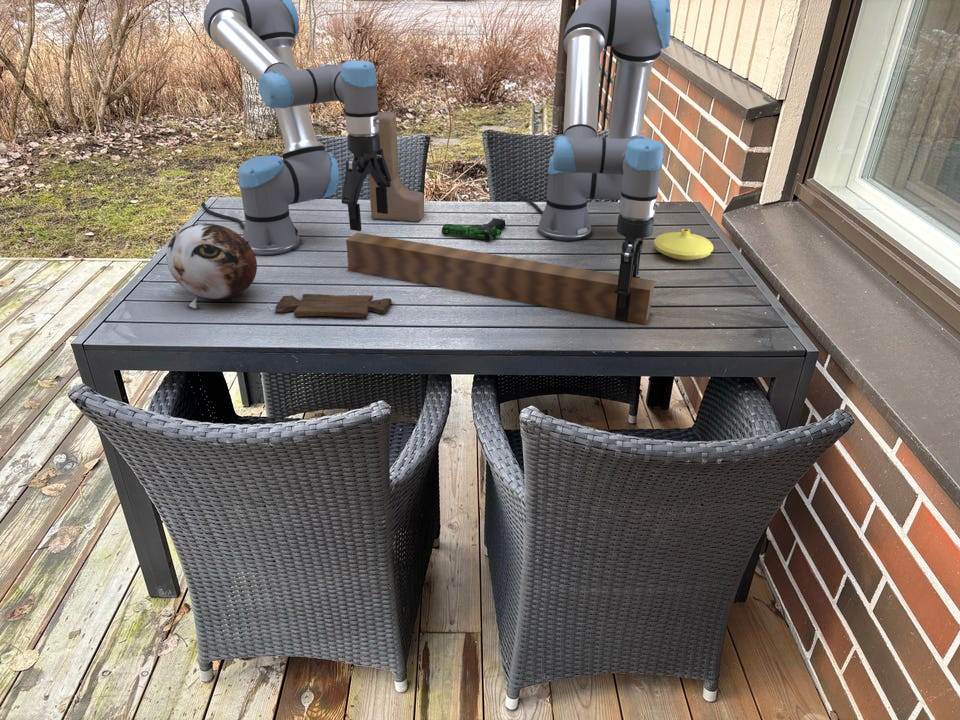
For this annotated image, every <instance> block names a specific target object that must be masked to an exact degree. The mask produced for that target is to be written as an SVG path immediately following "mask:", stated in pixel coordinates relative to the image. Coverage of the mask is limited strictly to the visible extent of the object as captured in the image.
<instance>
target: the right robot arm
mask: <svg viewBox="0 0 960 720" xmlns="http://www.w3.org/2000/svg"><path fill="white" fill-rule="evenodd" d="M671 21H672V20H671V3H670V0H584V1H583V2H582V3H580V5H579V6H578V7H577V8H576V9H575V10H574V12H573V13H572V15H571V17H570V18H569V20H568V22H567V24H566V27H565V30H564V35H563V49H564V51H565V53H566V54H567V57H566V77H565V93H564V94H565V95H564V113H563V131H562V133H563V134H562V135H560V136H559V135H558V136H555V138H554V143H553V154H552V155H551V156H550V158H549V162H548V169H547V174H548V177H547V189H546V200H545V201H546V203H545V206H544V209H543V210H542V209H541V207H539V206H538V205H537V204H536V202H534V201H532V200H530V199H529V198H527V197H526V196H524V195H523V194H522V193H521V191H519V190H515V191H514V193H513V194H514V195H518V196H519V197H520V198H521V200H523V201H525V202H526V203H528V204H530V205H531V206H532V207H533V208H534V209H536V211H537V212H538V213H539V214H541V217H540V220H539V224H538V231H537V232H538V233H539V234H540V235H541V236H542V237H545V238H547V239H550V240H554V241H559V242H575V241H576V242H577V241H581V240H585V239H587V238H589V237H590V236H591V234H592V233H591V232H592V224H591V220H590V215H589V211H588V200H592V199H593V200H611V201H619V204H618V213H619V215H618V216H617V224H616V232H617V233H618V234H619V235H620V236H623V237H624V241H623V242H622V244H621V252H620V262H619V263H620V264H619V270H618V275H619V277H618V285H617V290H615V291H614V293H616V294H618V295H617V303H616V311H615V319H614V320H618V319H620V321H624V320H625V322H628V321H627V317H628V309H629V302H630V294H631V293H630V287H631V282H632V277H636V278H641V277H640V276H638V275H639V273H640V272H639V271H640V263H641V255H642V248H643V246H644V239H645V238H648V237H650V236H652V234H653V231H654V230H653V229H654V222H655V218H654V216H655V214H656V208H659V207H660V203H659V202H658V201H657V199H658V193H659V186H660V180H661V174H662V167H663V164H664V151H665V147H664V144H663V143H662V142H661V141H659V140H657V139H652V138H647V137H645V136H643V135H642V132H643V127H644V126H643V125H644V119H645V112H646V107H647V101H648V95H649V88H650V82H651V76H652V69H653V65H654V64H653V63H654V62H656V61H657V60H658V59H659V58H660V57H661V53H662V50H665V49H668V48H669V46H670V41H671V28H672V27H671V26H672V22H671ZM605 47H608V48H610V47H612V51H611V53H612V56H613V57H614V58H615V59H616V60H617V61H616V62H617V63H616V70H615V80H614V86H613V95H612V102H611V111H610V119H609V127H608V134H607V137H598V123H599V122H598V121H599V98H600V97H599V95H600V69H601V68H600V67H601V66H600V65H601V54H602V52H603V51H604V49H605Z"/></svg>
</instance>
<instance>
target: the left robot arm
mask: <svg viewBox="0 0 960 720" xmlns="http://www.w3.org/2000/svg"><path fill="white" fill-rule="evenodd" d="M299 22H300V18H299V14H298V10H297V8H296V6H295V3H294V2H293V0H209V1H208V3H207V4H206V6H205V9H204V12H203V26H204V29H205V31H206V34H207V35H208V37H209V38H210V39H211V41H212V42H213V43H214V44H215V45H216V46H217V47H219V48H220V49H222V50H226V51H228V52H229V54H231V55H232V56H233V57H234V59H236V60H237V62H239V63H240V65H241V66H243V68H244V69H245V70H246V71H247V72H248V73H249V74H250V75H251V76H252V77H253V78H254V79H255V80H256V81H257V82H258V91H259V95H260V98H261V99H262V102H263V103H264V105H265V106H266V107H268V108H269V109H274V111H275V114H276V115H275V116H276V118H277V121H278V122H277V123H278V126H279V129H280V133H281V136H282V139H283V143H284V149H283V150H282V153H281V156H279V155H275V154H268V155H260V156H259V155H258V156H256V157H252V158H250V159H247V160H245V161H244V162H243V163H241V165H239V167H238V170H237V174H238V186H239V190H240V196H241V201H242V208H243V212H244V213H243V215H244V219H245V220H244V223H243V221H242V220H241V219H240V218H237V217H236V216H231V215H226V214H222V213H218V212H217V211H212V210H211V209H209V208H207V206H206V203H205V202H201V207H202V208H203V210H204V211H205V212H206V213H208V214H210V215H213V216H215V217H218V218H222V219H227V220H231V221H235V222H237V223H238V224H239V226H240V227H241V228H242V229H243V235H242V237H243V238H244V239H245V240H246V241H249V242H248V244H249V245H250V247H251V248H252V250H253V252H254V254H255V256H256V255H257V256H275V255H281V254H282V255H283V254H285V253H289V252H291V251H293V250H296V249H297V248H298V247H299V246H300V244H301V241H300V235H299V231H298V229H297V228H296V227H295V225H294V223H293V220H292V218H291V216H290V207H289V206H291V205H294V204H295V205H296V204H301V203H304V202H311V201H315V200H322V199H324V198H327V197H331V196H332V195H334V194H335V193H336V192H337V189H338V187H339V183H340V168H339V164H338V160H337V159H336V158H335V155H334V154H333V153H331V152H329V151H326V148H325V145H324V144H323V143H322V142H320V141H318V139H317V137H316V136H317V135H316V133H315V129H314V125H313V122H312V118H311V114H310V110H309V106H308V105H313V104H314V105H315V104H323V103H329V102H330V103H331V102H341V103H343V104H344V113H345V127H346V128H345V129H346V133H348V134H347V136H346V138H347V139H346V140H347V150H348V151H349V152H350V153H352V154H353V156H352V157H353V159H352V160H349V159H347V160H346V161H345V175H344V181H343V188H342V195H341V204H343V205H347V212H348V213H347V214H348V220H349V222H348V223H349V230H350V231H356V232H361V231H362V217H361V206H360V205H361V204H360V203H358V202H359V199H360V195H361V191H362V188H363V185H364V181H365V179H367V177H368V176H369V173H370V174H371V176H372V177H373V179H374V181H375V182H376V184H377V185H378V186H379V187H376V201H377V213H383V214H387V213H388V203H387V188H386V187H390V186H391V183H390V182H391V177H390V174H389V171H388V168H387V165H386V162H385V159H384V154H383V149H381V148H380V135H379V134H378V133H377V132H379V123H380V121H379V119H378V112H379V102H378V101H379V98H378V97H379V96H378V79H377V74H376V66H375V64H374V63H373V62H371V61H370V60H369V61H368V60H347V61H344V62H343V63H342V64H341V65H338V64H335V63H331V64H330V63H327V64H323V65H321V66H319V67H313V68H304V69H303V68H302V69H298V66H297V62H296V58H295V56H294V52H293V48H294V46H295V44H296V37H297V36H298V34H299V32H300V25H299ZM384 176H386V177H384ZM388 182H389V183H388ZM205 206H206V207H205Z"/></svg>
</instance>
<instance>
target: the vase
mask: <svg viewBox="0 0 960 720" xmlns="http://www.w3.org/2000/svg"><path fill="white" fill-rule="evenodd" d="M653 245H654V248H655V250H656V251H658V252H659V253H661V254H663V255H664V256H666V257H667V258H668V257H669V258H671V259H675V260H679V261H696V260H700V259H703V258H707V257H709V256H710V255H711V254H712V253H713V250H714V249H715V248H714V244H713V243H712V242H711V241H710V240H709V239H708V238H707V237H704V236H702V235H700V234H699V235H698V234H695V233H691V229H689V228H681V230H680V231H672V232H671V231H670V232H665V233H661V234H659V235H658V236H657V237H656V238H655V239H654V240H653Z"/></svg>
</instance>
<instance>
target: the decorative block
mask: <svg viewBox="0 0 960 720" xmlns="http://www.w3.org/2000/svg"><path fill="white" fill-rule="evenodd" d="M378 119H379V121H380V123H379V132H377V133H378V134H379V135H380V148H381V149H383V154H384V159H385V162H386V165H387V168H388V171H389V174H390V177H391V182H390V183H391V186H390V187H386V188H387V203H388V213H387V214H383V213H377V201H376V187H379V186H378V185H377V184H376V182H375V181H374V179H373V177H372V176H371V174H370V173H369V174H368V184H369V201H370V216H371V219H374V220H387V221H388V220H389V221H405V222H420V221H421V219H422V217H423V216H424V214H425V194H424V193H423V192H421V191H417V190H412V189H409V188H408V187H406V186H405V185H404V184H403V182H402V179H401V177H400V173H399V172H400V171H399V151H398V150H399V149H398V147H399V146H398V129H397V114H396V113H395V112H393V111H392V112H388V111H378ZM384 177H386V176H384ZM388 183H389V182H388Z"/></svg>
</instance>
